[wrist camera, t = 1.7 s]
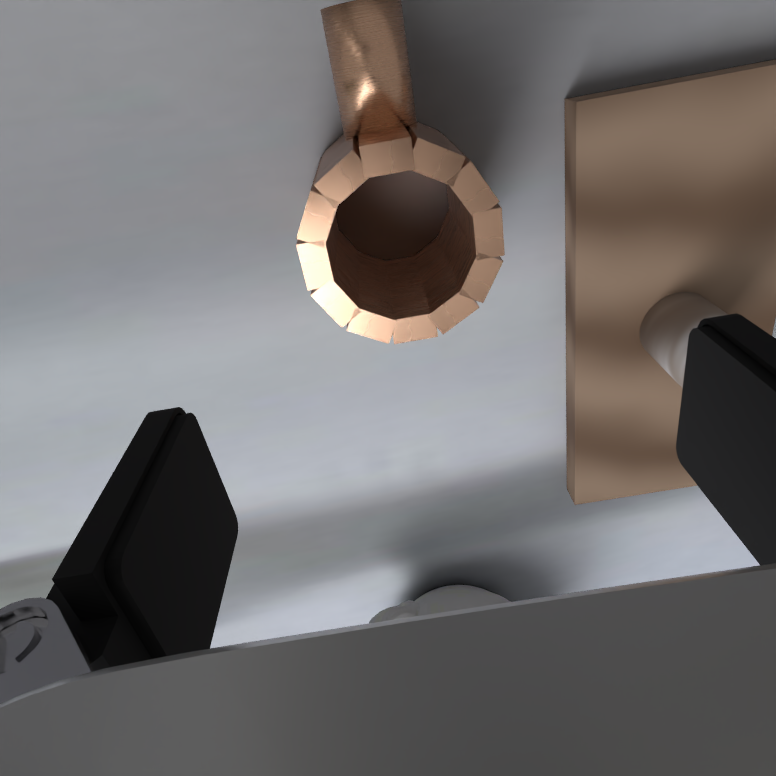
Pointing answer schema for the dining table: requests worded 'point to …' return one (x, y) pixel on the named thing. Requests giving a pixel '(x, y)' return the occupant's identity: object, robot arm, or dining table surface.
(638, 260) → the duct board
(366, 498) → the dining table surface
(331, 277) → the wooden stave mug
